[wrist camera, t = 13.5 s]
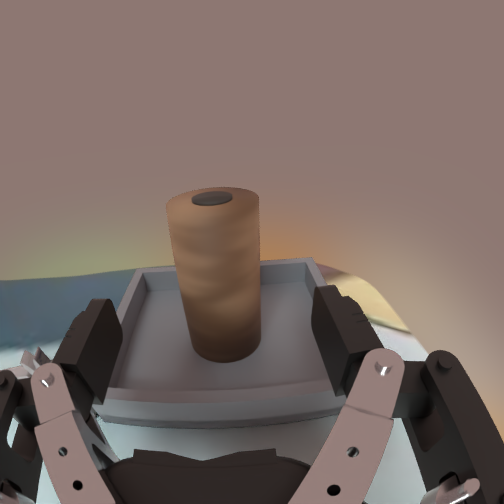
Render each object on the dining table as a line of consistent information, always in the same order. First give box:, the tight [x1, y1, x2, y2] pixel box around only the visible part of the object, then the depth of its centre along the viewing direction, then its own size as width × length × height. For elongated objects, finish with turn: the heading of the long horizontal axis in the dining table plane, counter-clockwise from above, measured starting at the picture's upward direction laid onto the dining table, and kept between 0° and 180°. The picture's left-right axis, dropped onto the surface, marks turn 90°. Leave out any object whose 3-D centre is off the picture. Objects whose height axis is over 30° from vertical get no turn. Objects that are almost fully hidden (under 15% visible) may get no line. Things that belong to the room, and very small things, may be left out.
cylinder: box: [166, 187, 261, 363], centre depth 17 cm, size 5×5×10 cm
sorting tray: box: [92, 257, 347, 429], centre depth 20 cm, size 16×14×3 cm
